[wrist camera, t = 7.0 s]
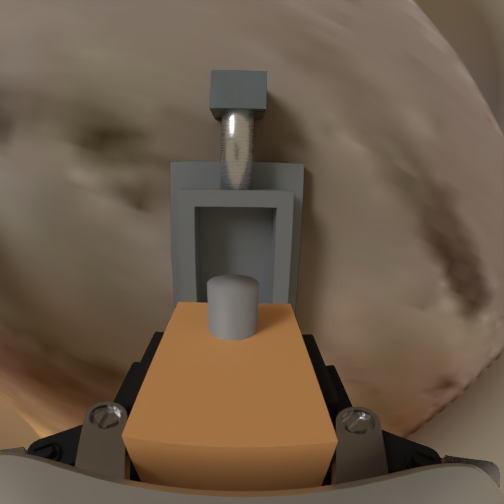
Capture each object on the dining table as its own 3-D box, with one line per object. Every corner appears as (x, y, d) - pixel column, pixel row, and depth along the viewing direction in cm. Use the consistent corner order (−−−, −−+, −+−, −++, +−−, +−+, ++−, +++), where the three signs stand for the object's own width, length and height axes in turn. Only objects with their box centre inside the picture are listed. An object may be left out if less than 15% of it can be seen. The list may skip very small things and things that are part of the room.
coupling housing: (179, 330, 29) (171, 353, 25) (173, 162, 25) (161, 160, 21) (290, 332, 29) (298, 355, 25) (301, 164, 25) (312, 163, 21)
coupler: (189, 410, 13) (169, 532, 6) (176, 262, 11) (101, 378, 4) (279, 412, 13) (298, 535, 7) (293, 264, 11) (354, 383, 5)
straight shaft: (260, 187, 26) (264, 191, 21) (213, 187, 26) (207, 190, 21) (262, 87, 23) (266, 71, 19) (216, 86, 23) (211, 70, 19)
